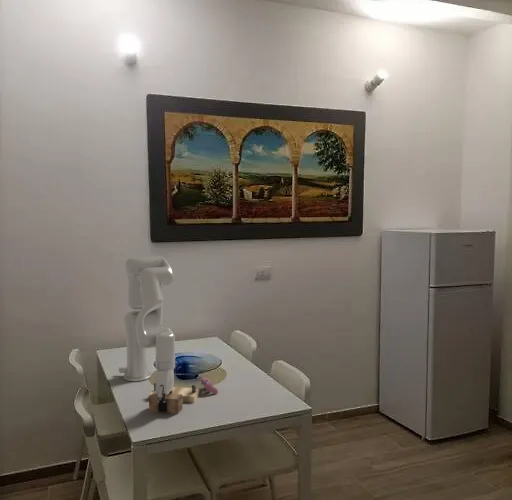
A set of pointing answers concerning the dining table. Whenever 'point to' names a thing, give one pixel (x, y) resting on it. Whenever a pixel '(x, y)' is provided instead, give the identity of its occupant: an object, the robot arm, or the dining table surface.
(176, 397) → the walnut bar
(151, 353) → the dining table surface
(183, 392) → the peg stand
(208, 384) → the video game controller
